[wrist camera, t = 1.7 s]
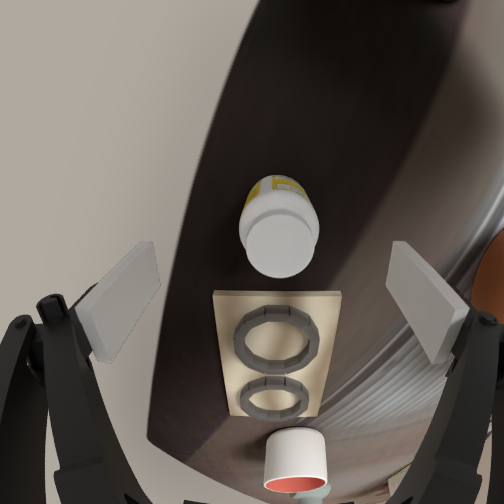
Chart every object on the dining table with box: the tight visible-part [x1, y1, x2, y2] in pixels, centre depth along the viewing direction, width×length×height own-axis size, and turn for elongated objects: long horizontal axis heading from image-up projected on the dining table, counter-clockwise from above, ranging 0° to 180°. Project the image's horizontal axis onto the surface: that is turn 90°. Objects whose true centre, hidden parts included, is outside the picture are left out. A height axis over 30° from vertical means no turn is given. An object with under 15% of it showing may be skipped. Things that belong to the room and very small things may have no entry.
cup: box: [264, 427, 327, 493], centre depth 36 cm, size 10×10×10 cm
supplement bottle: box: [239, 175, 319, 278], centre depth 20 cm, size 5×5×10 cm
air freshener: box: [290, 480, 331, 504], centre depth 47 cm, size 11×8×10 cm
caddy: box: [213, 290, 342, 422], centre depth 32 cm, size 13×22×2 cm, turn 2°
